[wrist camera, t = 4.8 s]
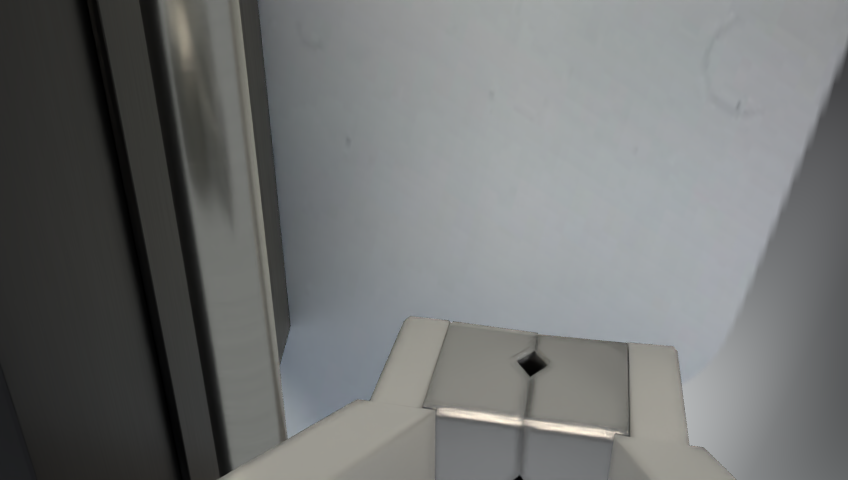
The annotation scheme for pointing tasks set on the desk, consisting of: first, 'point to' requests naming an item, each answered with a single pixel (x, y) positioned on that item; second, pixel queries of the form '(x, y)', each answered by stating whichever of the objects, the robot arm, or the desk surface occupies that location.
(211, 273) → the oven door
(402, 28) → the desk surface
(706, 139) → the desk surface
